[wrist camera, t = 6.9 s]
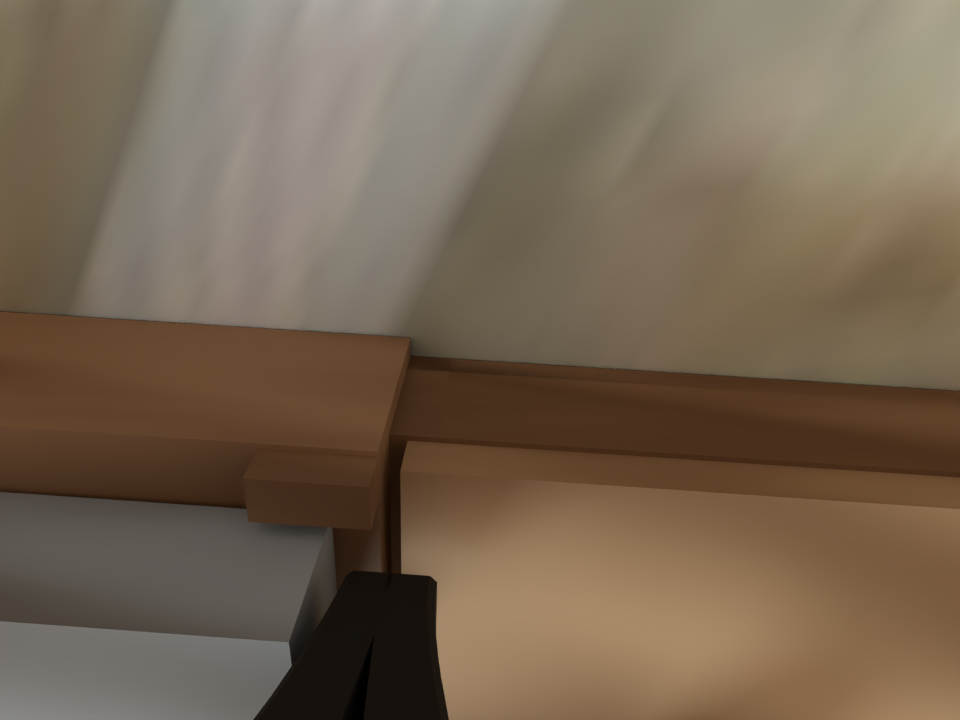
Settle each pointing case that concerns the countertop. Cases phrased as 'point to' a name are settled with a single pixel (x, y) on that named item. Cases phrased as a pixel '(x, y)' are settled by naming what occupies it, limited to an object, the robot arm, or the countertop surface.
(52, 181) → the countertop surface
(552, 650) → the lid
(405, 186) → the countertop surface
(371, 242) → the countertop surface
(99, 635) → the gray rectangular box
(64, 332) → the long low wooden box
